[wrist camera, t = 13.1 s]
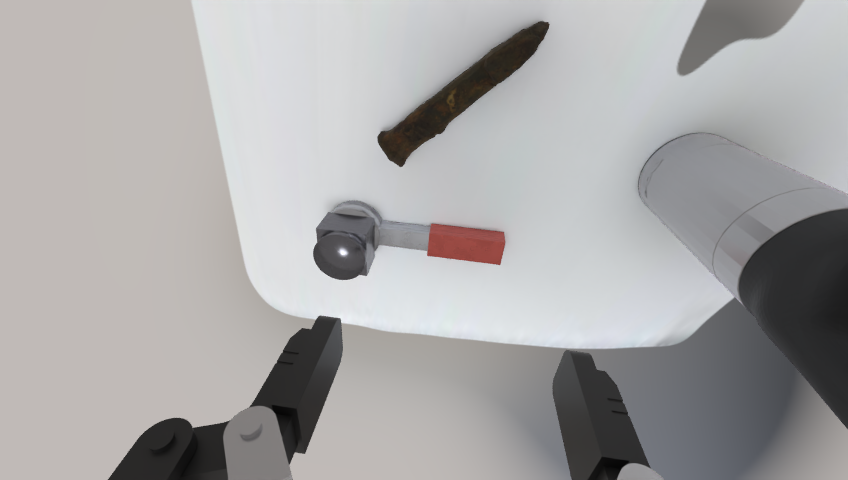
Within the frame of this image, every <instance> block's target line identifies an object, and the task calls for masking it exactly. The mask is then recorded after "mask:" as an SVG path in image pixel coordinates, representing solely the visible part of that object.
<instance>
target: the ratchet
mask: <svg viewBox="0 0 848 480" xmlns="http://www.w3.org/2000/svg"><path fill="white" fill-rule="evenodd" d="M332 213H339V214H347V215H356V216H364V217H373V218H375V251H376V249H377V247H378V245H385V246H393V247H401V248H409V249H417V250H425V251H428V252H427V256H434V257H442V258H450V259H458V260H466V261H474V262H482V263H490V264H498V265H500V264H501V259H502V255H503V251H504V246H505V238H504V232H498V231H490V230H481V229H473V228H464V227H456V226H448V225H439V224H431V226H424V225H416V224H407V223H399V222H391V221H382V219H381V217H380V215H379V214H378V212H377V211H376V210H375V209H374V208H372V207H371V206H369V205H368V204H365V203H363V202H359V201H347V202H343V203H341V204H339V205H338V206H337V207H336V208H335V209H334V210H333V212H332Z"/></svg>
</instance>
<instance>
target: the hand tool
mask: <svg viewBox="0 0 848 480" xmlns="http://www.w3.org/2000/svg"><path fill="white" fill-rule="evenodd" d="M548 29H549V23H548V22H543V21H540V22H538V23H536V24H534V25H532V26H531V27H529V28H527V29H523V30H521V31H520V32H518V33H517V34H515V35H514V36H513V37H512V38H510V39H508V40H507V41H506V42H504V43H502V44H500V45H498V46H497V47H495V48H493V49H492V50H491V51H490V52H489V53H488V54H487V55H485V56H484V57H483V58H482V59H481V60H479V61H478V62H477V63H475V64H474V65H473V66H471V67H470V68H469V69H468V70H466V71H465V72H463V73H462V74H461V75H460V76H458V77H457V78H456V79H455V80H453V81H452V82H451V83H449V84H448V85H447V86H446V87H444V88H443V89H442V90H441V91H440V92H439V93H437V94H436V95H435V96H433V97H432V98H431V99H429V100H428V101H426V102H425V103H424V104H422V105H421V106H419V107H418V108H417V109H416V110H415V111H414V112H413V113H411V114H410V115H409V116H408V117H407V118H406V119H405V120H404V121H402V122H400V123H399V124H398V125H397V126H396V127H394V128H393V129H392V130H390V131H388V132H384V131H381V133H380V134H379V135H378V137H377V138H378V143H379V145H380V147H381V148H382V150H383V151H384V153H385V154H386V155H387V157H388V159H389V160H390V161H392V162H394V163H395V164H397V165H399V166H400V167H402V166H403V165H404V164H405V161H406V159H407V157H408V156H409V155H410V154H411V153H412V152H413V151H414V150H416V149H417V148H418V147H419V146H420V145H422V144H423V143H424V142H426V141H428V140H429V139H431V138H433V137H435V135H437V134H441V133H442V132H443V131H444V130H445V128H446V127H447V125H448V124H449V122H451V121H452V120H453V119H454V118H455V117H457V116H458V115H459V114H461V113H462V112H463V111H465V110H466V109H467V108H468V107H469V106H471V105H472V104H473V103H474V102H475V101H476V100H478V99H479V98H480V97H481V96H483V95H484V94H485V93H487V92H488V91H489V90H491V89H492V88H493V87H495V86H496V85H497V84H498V83H501V82H502V81H504V80H505V79H506V78H507V77H509V76H510V75H512V73H513V72H515V71H516V70H517V69H519V68H520V67H521V66H522V65H523V64H524V63H525V62H526V61H527V60H528V59H529V58H530V57H531V56H532V55H533V54H534V53H535V52H536V50H537V48H538V46H539V44H540V43H541V41H542V40H543V39H544V37H545V35H546V33H547V31H548Z"/></svg>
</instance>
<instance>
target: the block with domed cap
mask: <svg viewBox="0 0 848 480" xmlns="http://www.w3.org/2000/svg"><path fill="white" fill-rule="evenodd" d="M316 232H317V244H316V245H315V247H314V251H313V256H314V260H315V263H316V264H317V266H318V267H319V269H320V270H321V271H322V272H324V273H325V274H326V275H328V276H330V277H332V278H335V279H339V280H349V279H353V278H355V277H357V276H358V275H365V276H367V274H368V272H369V269H370V267H371V265H372V262H373V260H374V257H375V218H373V217H364V216H356V215H347V214H339V213H331V212H328V214H327V215H326V216H325V218H324V219H323V220H322V221H321V223H320V224H319V225H318V227H317V228H316Z"/></svg>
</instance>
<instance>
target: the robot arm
mask: <svg viewBox="0 0 848 480" xmlns="http://www.w3.org/2000/svg"><path fill="white" fill-rule="evenodd" d="M639 193H640V197H641V199H642V200H643V202H644V204H645V205H646V206H647V207H648V208H649V209H650V210H651V211H652V212H653V213H654V214H655V215H656V216H657V217H658V218H659V219H660V220H661V222H662V223H663V224H664V225H665V226H666V227H667V228H668V229H669V230H670V231H671V232H672V233H673V234H674V235H675V236H676V237H677V238H678V239H679V240H680V241H681V242H682V243H683V244H684V245H685V246H686V247H687V248H688V249H689V250H690V251H691V252H692V254H693V255H694V256H695V257H696V258H697V259H698V260H699V261H700V262H701V263H702V264H703V265H704V266H705V267H706V268H707V269H708V270H709V271H710V272H711V273H712V274H713V275H714V276H715V277H716V278H717V279H718V280H719V281H720V282H721V283H722V284H723V285H724V286H725V287H726V288H727V289H728V290H729V291H730V292H731V293H732V294H733V295H734V296H735V297H736V299H738V301H740V303H741V304H742V305H743V306H744V307H745V308H746V309H747V310H748V311H749V312H750V313H751V314H752V315H753V316H754V317H755V318H756V320H757V322H758V324H759V326H760V327H761V328H762V330H763V331H764V333H765V334H766V335H767V336H768V337H769V339H770V340H771V341H772V342H773V343H774V344H775V345H776V346H777V347H778V348H779V350H780V351H781V352H782V353H783V354H784V355H785V356H786V357H787V358H788V359H789V361H790V362H791V363H792V364H793V365H794V366H795V367H796V369H797V370H798V371H799V372H800V373H801V374H802V375H803V377H804V378H805V379H806V380H807V381H808V382H809V384H810V385H811V386H812V387H813V388H814V389H815V391H816V392H817V393H818V394H819V395H820V397H821V398H822V399H823V400H824V401H825V403H826V404H827V405H828V406H829V407H830V409H831V410H832V411H833V412H834V413H835V415H836V416H837V417H838V418H839V419H840V421H841V422H842V423H843V424H844V425H845V426H846V428H847V429H848V194H847V193H845V192H842V191H839V190H837V189H835V188H833V187H831V186H828V185H826V184H824V183H822V182H819V181H817V180H815V179H813V178H811V177H808V176H806V175H804V174H802V173H799V172H797V171H795V170H793V169H790V168H788V167H786V166H784V165H782V164H779V163H777V162H775V161H773V160H770V159H768V158H766V157H764V156H762V155H759V154H757V153H755V152H753V151H750V150H748V149H746V148H744V147H742V146H740V145H737V144H735V143H733V142H731V141H728V140H726V139H724V138H722V137H719V136H716V135H714V134H707V133H696V134H689V135H686V136H682V137H679V138H677V139H675V140H673V141H670V142H669V143H667V144H666V145H664V146H663V147H661V148H660V149H659V150H658V151H657V152H656V153H654V154H653V155H652V157H651V158H650V159H649V160H648V162H647V163H646V165H645V166H644V168H643V170H642V172H641V175H640V179H639ZM342 351H343V344H342V329H341V319H340V318H334V317H326V316H319V317H318V318H317V319H316V321H315V323H314V325H313V327H312V329H304V328H302V329H301V330H299V331H298V332H297V333H296V334H295V335H294V336H292V337H291V338H290V340H289V341H288V343H287V345H286V346H285V348H284V350H283V353H282V354H281V355H280V357H279V359H278V360H277V363H276V364H275V365H274V367H273V369H272V371H271V372H270V374H269V376H268V378H267V379H266V381H265V383H264V384H263V386H262V388H261V390H260V392H259V393H258V395H257V397H256V398H255V400H254V402H253V403H252V405H251V406H250V407H249V408H247V409H245V410H243V411H241V412H239V413H238V414H237V415H236V416H234V417H233V419H231V420H230V421H227V422H224V423H220V424H214V425H208V426H202V427H196V428H192V426H191V424H190V423H189V422H188V421H187V420H185V419H181V418H171V419H167V420H164V421H161V422H159V423H157V424H155V425H154V426H152V427H151V428H149V429H148V430H146V431H145V432H144V433H143V434H142V435H141V436H140V437H139V439H138V440H137V441H136V442H135V444H134V445H133V447H132V448H131V449H130V451H129V452H128V453H127V455H126V456H125V457H124V459H123V460H122V461H121V463H120V464H119V465H118V467H117V468H116V470H115V471H114V472H113V473H112V475H111V476H110V478H109V479H108V480H293V479H292V475H291V471H290V467H289V464H290V462H291V460H292V458H293V455H294V453H295V452H297V453H303V454H305V452H306V450H307V447H308V445H309V442H310V439H311V437H312V434H313V432H314V429H315V426H316V424H317V421H318V419H319V416H320V414H321V411H322V409H323V406H324V403H325V401H326V398H327V395H328V393H329V391H330V388H331V385H332V383H333V380H334V378H335V375H336V372H337V370H338V367H339V365H340V362H341V357H342ZM553 397H554V402H555V406H556V410H557V415H558V420H559V424H560V429H561V433H562V438H563V442H564V447H565V451H566V456H567V460H568V465H569V469H570V474H571V478H572V480H664V479H663V478H662V477H661V476H660V475H659V474H658V473H656V472H655V471H654V470H652V469H651V468H650V466H649V464H648V461H647V459H646V457H645V454H644V452H643V449H642V447H641V444H640V442H639V439H638V437H637V434H636V432H635V429H634V427H633V424H632V422H631V420H630V417H629V416H628V412H627V410H626V407H625V405H624V404H623V402H622V401H623V400H622V397H621V395H620V392H619V390H618V388H617V385H616V384H615V383H614V381H613V380H612V379H611V378H610V377H609V375H608V374H607V373H606V372H605V371H599V370H597V369H596V367H595V364H594V361H593V359H592V356H591V355H590V354H589V353H584V352H577V351H569V350H566V351H565V352H564V354H563V357H562V359H561V362H560V364H559V367H558V369H557V372H556V374H555V377H554V380H553Z"/></svg>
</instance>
